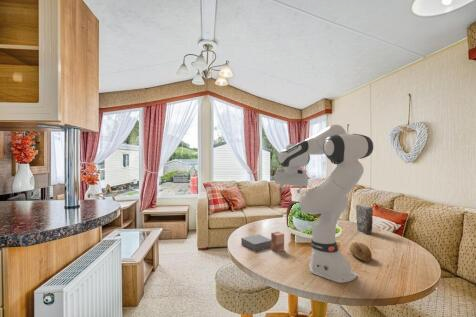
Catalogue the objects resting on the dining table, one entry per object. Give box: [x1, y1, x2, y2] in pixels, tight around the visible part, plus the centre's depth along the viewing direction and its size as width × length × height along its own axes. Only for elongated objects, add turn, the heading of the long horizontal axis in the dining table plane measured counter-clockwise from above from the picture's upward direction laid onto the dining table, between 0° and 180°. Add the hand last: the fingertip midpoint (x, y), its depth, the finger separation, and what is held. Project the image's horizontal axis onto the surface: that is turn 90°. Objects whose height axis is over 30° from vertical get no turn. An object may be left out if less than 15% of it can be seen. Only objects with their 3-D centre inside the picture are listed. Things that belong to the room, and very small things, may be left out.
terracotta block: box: [270, 231, 285, 253], centre depth 154 cm, size 6×6×10 cm
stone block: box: [355, 204, 374, 236], centre depth 191 cm, size 13×7×20 cm, turn 11°
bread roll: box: [349, 242, 373, 262], centre depth 142 cm, size 10×15×8 cm, turn 3°
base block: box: [240, 234, 271, 252], centre depth 161 cm, size 14×14×4 cm
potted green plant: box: [285, 200, 299, 227], centre depth 207 cm, size 11×8×20 cm
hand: (290, 192), depth 158 cm, fingers open, 8 cm apart
